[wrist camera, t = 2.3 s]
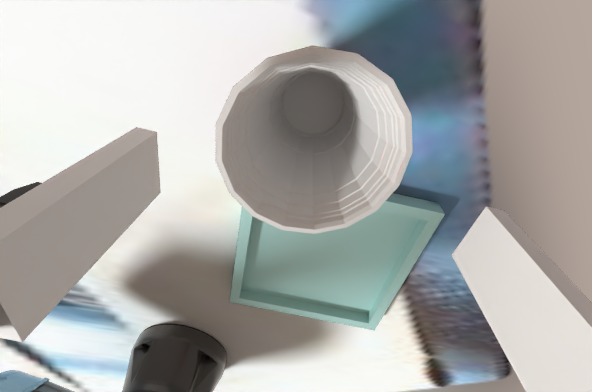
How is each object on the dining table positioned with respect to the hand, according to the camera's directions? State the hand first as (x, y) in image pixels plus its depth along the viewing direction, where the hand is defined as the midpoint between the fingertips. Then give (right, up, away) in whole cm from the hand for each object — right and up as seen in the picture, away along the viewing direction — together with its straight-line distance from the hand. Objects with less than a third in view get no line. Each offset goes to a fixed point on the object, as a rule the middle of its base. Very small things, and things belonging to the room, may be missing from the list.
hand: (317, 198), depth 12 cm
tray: (+2, -7, +23) cm, 24 cm away
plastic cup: (+1, +8, +14) cm, 16 cm away
